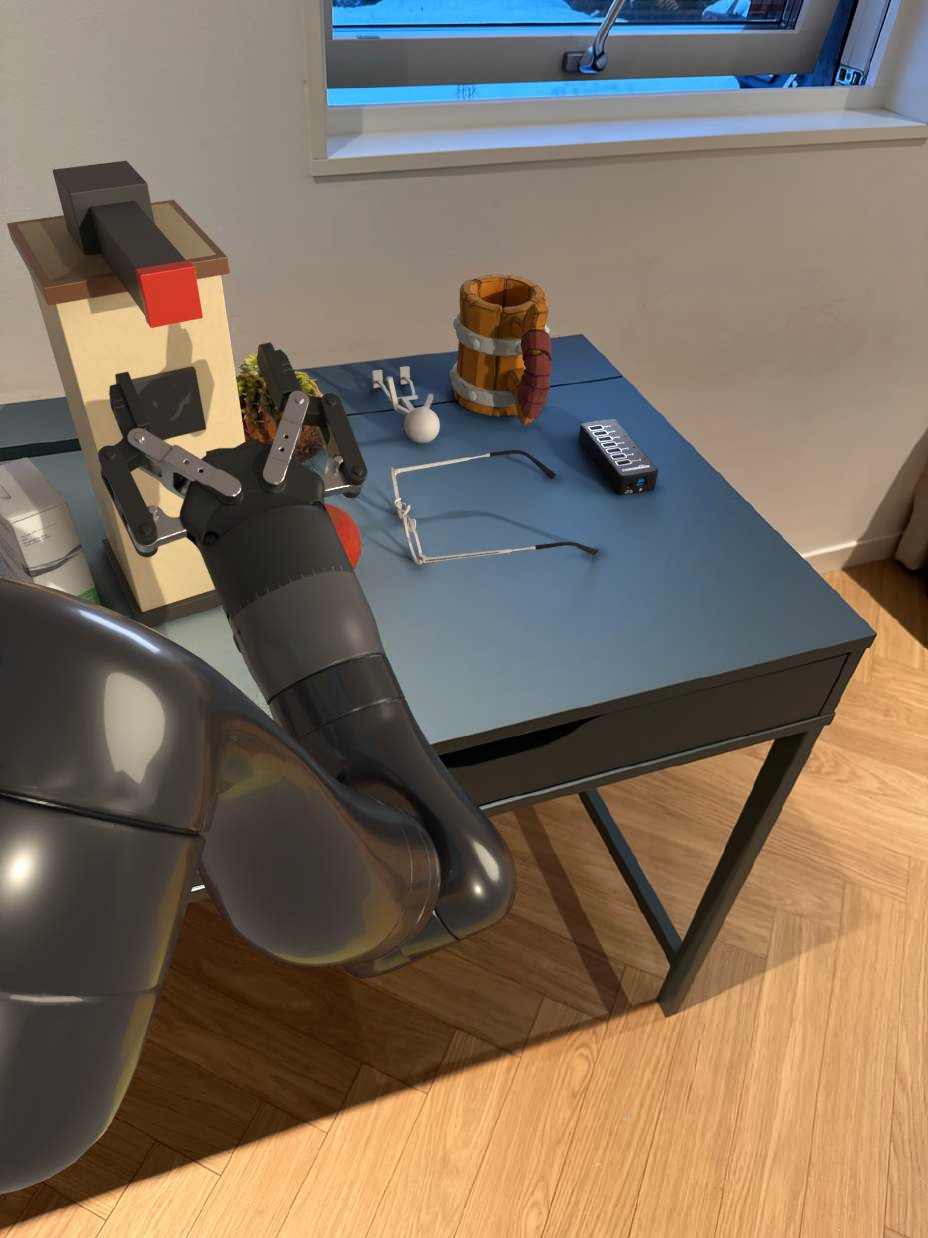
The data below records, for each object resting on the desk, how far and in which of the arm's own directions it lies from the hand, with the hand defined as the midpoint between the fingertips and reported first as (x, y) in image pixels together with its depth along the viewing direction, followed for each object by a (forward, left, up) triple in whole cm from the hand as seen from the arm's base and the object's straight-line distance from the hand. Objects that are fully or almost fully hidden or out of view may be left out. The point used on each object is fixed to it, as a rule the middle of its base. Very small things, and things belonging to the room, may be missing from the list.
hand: (194, 364), depth 54 cm
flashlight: (0, +10, +2) cm, 11 cm away
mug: (+42, +28, -28) cm, 58 cm away
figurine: (+31, +31, -28) cm, 53 cm away
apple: (+10, +9, -29) cm, 32 cm away
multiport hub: (+46, +12, -28) cm, 56 cm away
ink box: (-11, +18, -29) cm, 36 cm away
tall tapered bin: (0, +16, -28) cm, 33 cm away
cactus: (+15, +34, -28) cm, 47 cm away
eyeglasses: (+28, +9, -28) cm, 41 cm away
